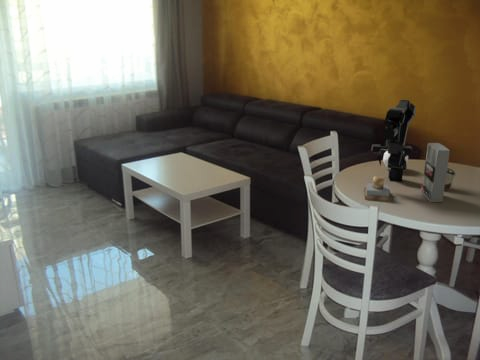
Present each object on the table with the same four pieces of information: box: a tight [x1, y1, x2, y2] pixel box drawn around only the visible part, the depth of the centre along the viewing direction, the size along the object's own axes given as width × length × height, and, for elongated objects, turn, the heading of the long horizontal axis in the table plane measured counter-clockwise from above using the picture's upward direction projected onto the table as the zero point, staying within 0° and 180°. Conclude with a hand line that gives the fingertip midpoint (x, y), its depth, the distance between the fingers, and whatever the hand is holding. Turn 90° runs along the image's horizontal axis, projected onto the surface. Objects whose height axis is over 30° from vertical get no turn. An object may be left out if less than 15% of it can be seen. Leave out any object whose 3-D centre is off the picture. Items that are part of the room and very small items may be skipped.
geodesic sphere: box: [382, 151, 409, 170], centre depth 267 cm, size 14×14×14 cm
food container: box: [444, 167, 456, 191], centre depth 240 cm, size 12×6×10 cm, turn 65°
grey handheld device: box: [419, 142, 451, 203], centre depth 224 cm, size 14×6×25 cm, turn 178°
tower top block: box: [365, 182, 390, 197], centre depth 228 cm, size 10×10×2 cm
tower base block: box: [363, 187, 392, 202], centre depth 229 cm, size 12×12×2 cm
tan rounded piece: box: [372, 175, 385, 189], centre depth 227 cm, size 5×5×5 cm
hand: (389, 165), depth 236 cm, fingers open, 9 cm apart
